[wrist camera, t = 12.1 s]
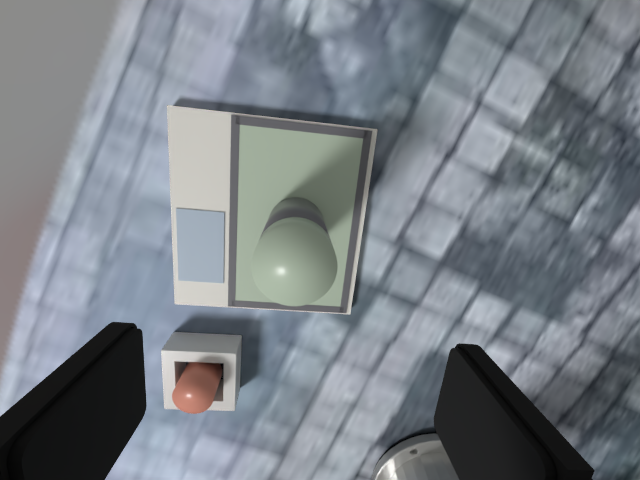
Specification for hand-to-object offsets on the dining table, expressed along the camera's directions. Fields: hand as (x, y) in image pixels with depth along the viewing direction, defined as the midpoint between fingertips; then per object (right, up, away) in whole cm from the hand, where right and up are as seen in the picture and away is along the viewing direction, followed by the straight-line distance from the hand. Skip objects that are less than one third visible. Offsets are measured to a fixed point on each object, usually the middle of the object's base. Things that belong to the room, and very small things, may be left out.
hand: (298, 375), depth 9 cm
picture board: (-3, +6, +16) cm, 17 cm away
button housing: (-10, -7, +19) cm, 23 cm away
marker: (-1, +5, +15) cm, 16 cm away
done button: (-10, -8, +18) cm, 22 cm away
